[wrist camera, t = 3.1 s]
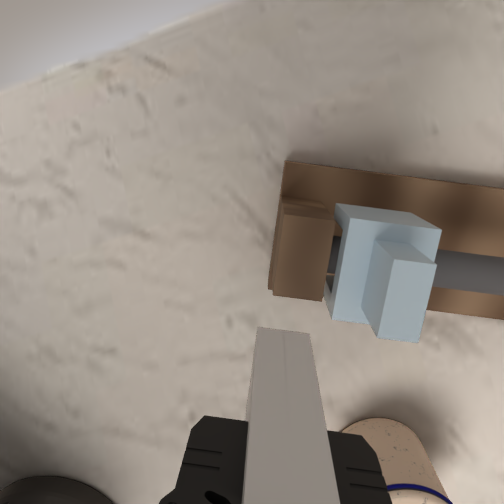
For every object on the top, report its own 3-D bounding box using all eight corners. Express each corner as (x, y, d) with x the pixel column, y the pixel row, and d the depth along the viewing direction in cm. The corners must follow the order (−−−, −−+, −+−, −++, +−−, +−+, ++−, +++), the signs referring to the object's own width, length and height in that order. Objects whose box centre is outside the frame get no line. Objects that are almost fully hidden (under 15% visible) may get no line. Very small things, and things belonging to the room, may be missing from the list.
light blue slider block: (321, 287, 31) (342, 352, 22) (335, 202, 29) (365, 234, 20) (392, 297, 31) (443, 365, 22) (410, 212, 29) (474, 248, 20)
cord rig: (268, 281, 37) (267, 332, 28) (284, 160, 35) (290, 170, 25) (565, 319, 37) (669, 385, 27) (604, 201, 34) (734, 227, 25)
